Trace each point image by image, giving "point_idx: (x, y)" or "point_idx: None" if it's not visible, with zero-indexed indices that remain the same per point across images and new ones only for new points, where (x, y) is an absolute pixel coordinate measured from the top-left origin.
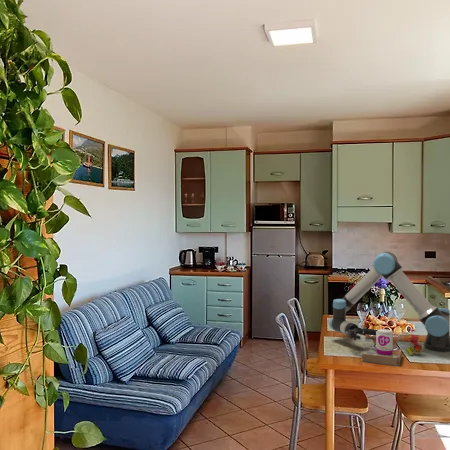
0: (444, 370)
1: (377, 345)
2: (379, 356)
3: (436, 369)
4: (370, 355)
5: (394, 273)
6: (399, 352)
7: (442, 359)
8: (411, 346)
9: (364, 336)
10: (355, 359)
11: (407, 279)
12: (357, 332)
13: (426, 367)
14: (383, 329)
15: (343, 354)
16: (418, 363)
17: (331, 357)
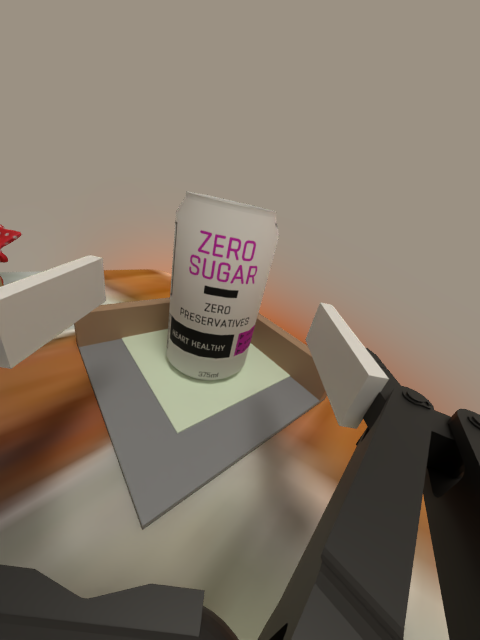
0: (151, 269)
1: (260, 304)
2: (273, 325)
3: (159, 276)
4: (304, 346)
5: None
6: (152, 302)
7: (23, 275)
8: (1, 284)
9: (329, 305)
10: (348, 440)
11: None
12: (217, 624)
13: (162, 286)
14: (202, 199)
15: (429, 632)
16: (139, 298)
17: None
